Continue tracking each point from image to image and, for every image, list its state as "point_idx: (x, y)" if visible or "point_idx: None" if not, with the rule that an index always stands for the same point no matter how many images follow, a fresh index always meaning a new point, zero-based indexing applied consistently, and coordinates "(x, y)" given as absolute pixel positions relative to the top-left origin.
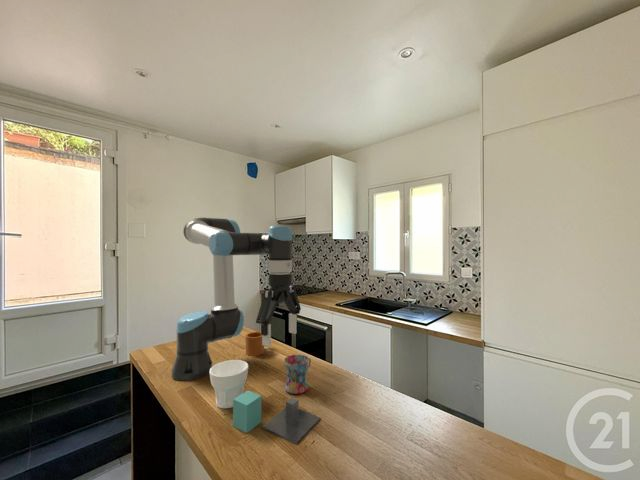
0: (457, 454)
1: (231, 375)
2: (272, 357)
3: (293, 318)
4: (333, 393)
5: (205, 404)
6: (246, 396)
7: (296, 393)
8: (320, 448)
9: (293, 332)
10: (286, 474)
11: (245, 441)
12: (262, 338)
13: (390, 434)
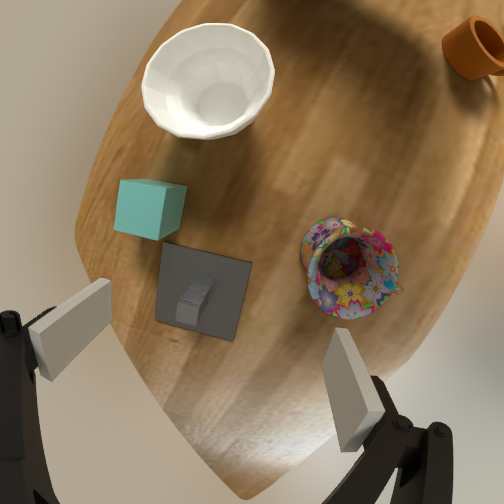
0: (231, 465)
1: (156, 121)
2: (464, 111)
3: (342, 419)
4: None
5: None
6: (140, 204)
7: (303, 262)
8: (166, 353)
9: (326, 358)
10: None
11: None
12: (82, 291)
13: (238, 425)
